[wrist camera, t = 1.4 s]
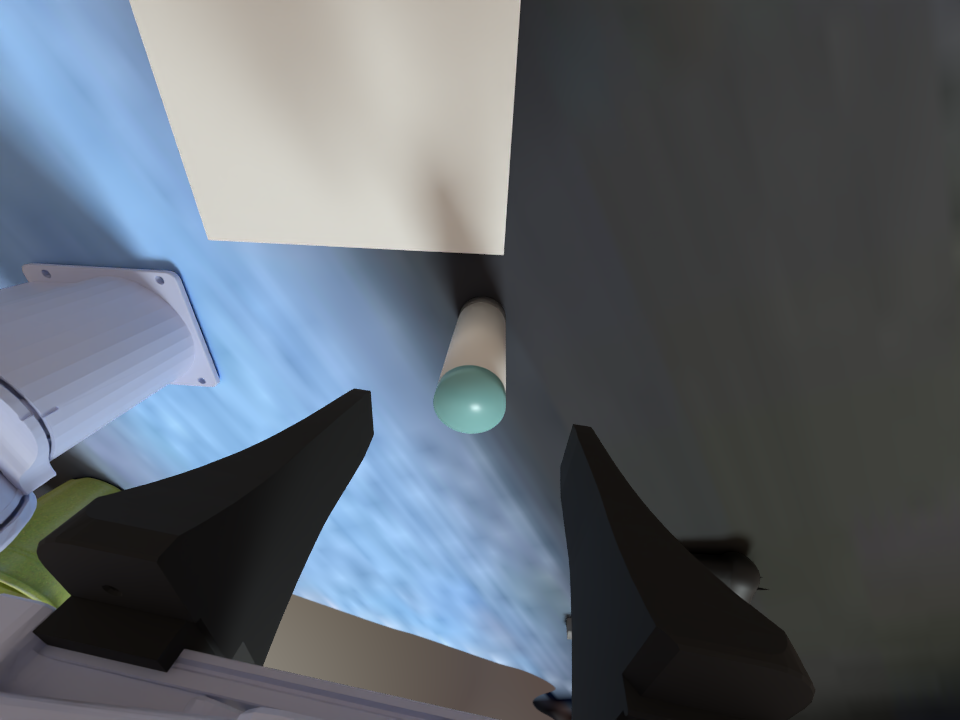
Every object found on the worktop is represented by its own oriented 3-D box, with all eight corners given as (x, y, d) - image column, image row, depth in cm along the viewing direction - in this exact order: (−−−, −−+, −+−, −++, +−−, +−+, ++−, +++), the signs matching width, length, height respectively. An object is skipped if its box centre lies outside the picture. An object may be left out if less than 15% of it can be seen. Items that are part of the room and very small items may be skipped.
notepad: (219, 237, 20) (207, 240, 19) (118, -80, 14) (95, -95, 13) (503, 251, 19) (503, 255, 18) (525, -74, 13) (526, -89, 12)
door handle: (566, 673, 39) (724, 692, 37) (574, 567, 29) (789, 583, 27) (563, 638, 42) (710, 653, 39) (570, 531, 32) (764, 542, 30)
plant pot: (153, 543, 35) (57, 647, 28) (50, 507, 33) (-83, 607, 26) (163, 490, 31) (53, 595, 24) (45, 445, 29) (-115, 544, 22)
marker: (459, 338, 22) (434, 431, 14) (459, 295, 20) (432, 372, 13) (504, 340, 22) (503, 436, 14) (507, 297, 20) (508, 376, 13)
